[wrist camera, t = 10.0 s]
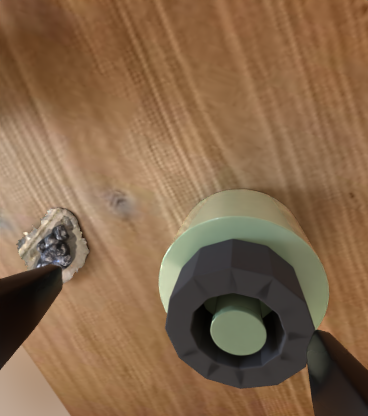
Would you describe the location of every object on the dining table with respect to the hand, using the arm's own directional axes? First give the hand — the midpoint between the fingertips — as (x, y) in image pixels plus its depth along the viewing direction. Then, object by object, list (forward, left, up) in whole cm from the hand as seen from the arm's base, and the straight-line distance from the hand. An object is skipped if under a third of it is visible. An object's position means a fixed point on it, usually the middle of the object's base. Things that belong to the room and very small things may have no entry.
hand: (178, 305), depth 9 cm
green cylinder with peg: (0, -4, -12) cm, 12 cm away
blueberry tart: (-14, +5, -12) cm, 19 cm away
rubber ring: (0, -4, -6) cm, 7 cm away
